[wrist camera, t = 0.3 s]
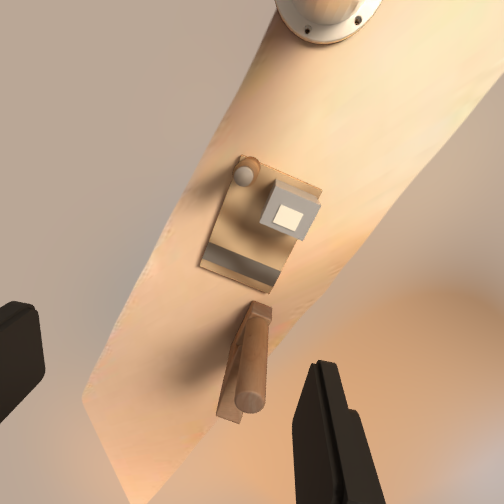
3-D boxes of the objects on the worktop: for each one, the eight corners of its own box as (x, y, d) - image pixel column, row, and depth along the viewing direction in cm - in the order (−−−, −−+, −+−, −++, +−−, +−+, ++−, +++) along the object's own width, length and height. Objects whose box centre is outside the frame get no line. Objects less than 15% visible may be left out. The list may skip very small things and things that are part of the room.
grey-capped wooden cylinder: (244, 153, 39) (235, 159, 30) (263, 161, 39) (260, 170, 31) (236, 173, 40) (226, 184, 32) (255, 181, 40) (250, 194, 32)
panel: (242, 154, 40) (241, 155, 39) (321, 189, 41) (322, 191, 40) (200, 263, 47) (199, 266, 46) (269, 291, 48) (269, 294, 47)
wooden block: (230, 345, 53) (208, 444, 36) (252, 299, 49) (240, 386, 32) (249, 352, 53) (236, 453, 36) (273, 307, 49) (270, 397, 32)
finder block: (275, 178, 40) (275, 185, 34) (315, 196, 40) (321, 205, 35) (261, 211, 42) (259, 223, 36) (299, 227, 42) (302, 241, 37)
